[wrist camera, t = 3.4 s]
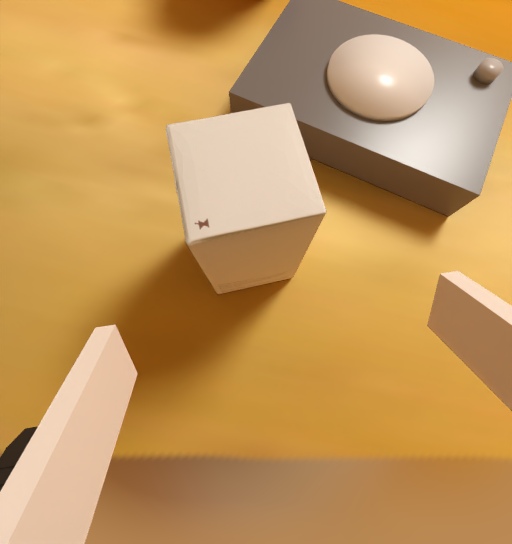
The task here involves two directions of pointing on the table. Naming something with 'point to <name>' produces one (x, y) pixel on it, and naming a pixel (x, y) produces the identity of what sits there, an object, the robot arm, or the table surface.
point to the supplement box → (245, 195)
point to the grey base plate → (383, 99)
